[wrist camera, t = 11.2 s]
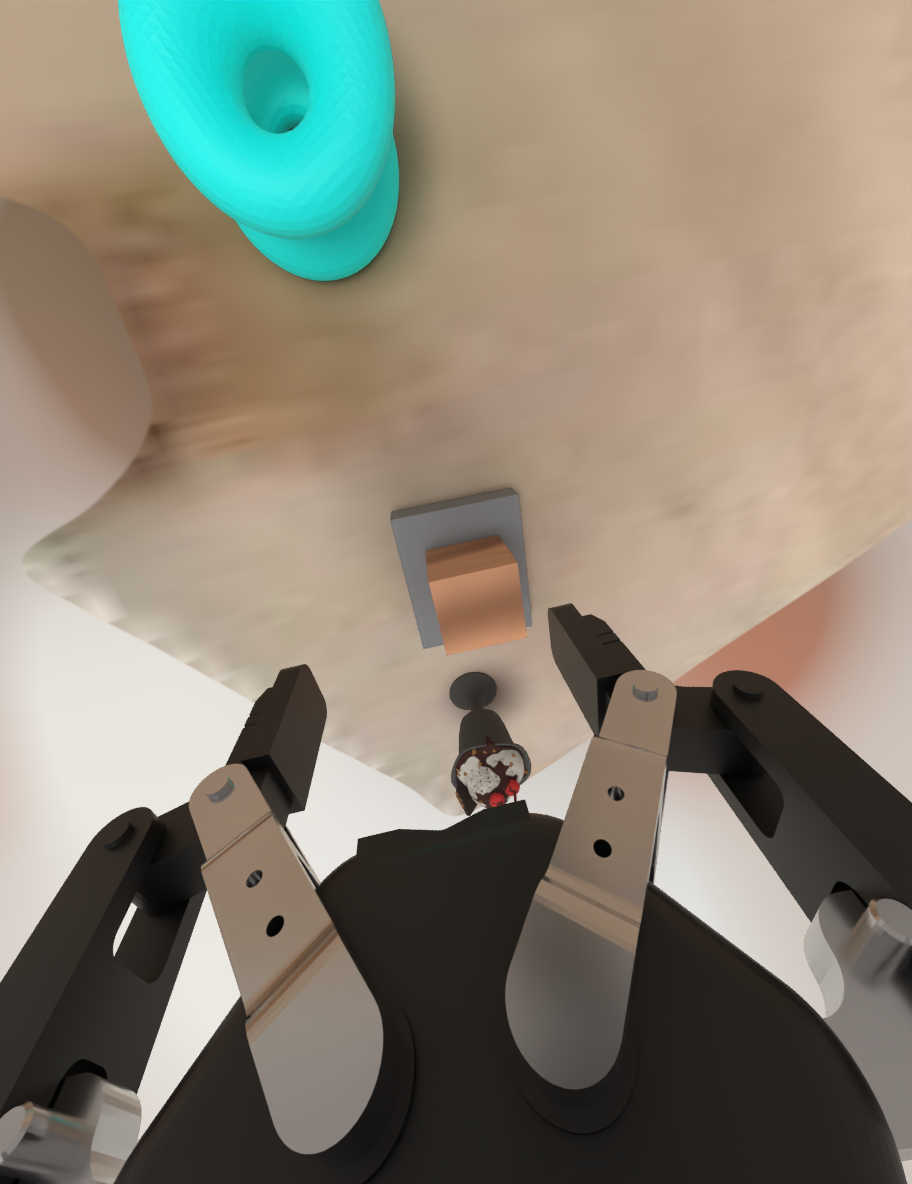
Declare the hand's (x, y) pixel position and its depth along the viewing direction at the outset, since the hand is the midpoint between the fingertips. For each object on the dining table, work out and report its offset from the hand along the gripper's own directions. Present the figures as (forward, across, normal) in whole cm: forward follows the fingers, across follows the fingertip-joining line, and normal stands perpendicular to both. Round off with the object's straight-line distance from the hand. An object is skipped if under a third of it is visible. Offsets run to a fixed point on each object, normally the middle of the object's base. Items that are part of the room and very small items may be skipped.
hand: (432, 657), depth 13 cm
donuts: (+22, +1, -19) cm, 29 cm away
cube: (+19, -3, +7) cm, 20 cm away
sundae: (+21, -1, +21) cm, 30 cm away
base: (+22, -3, +7) cm, 23 cm away
